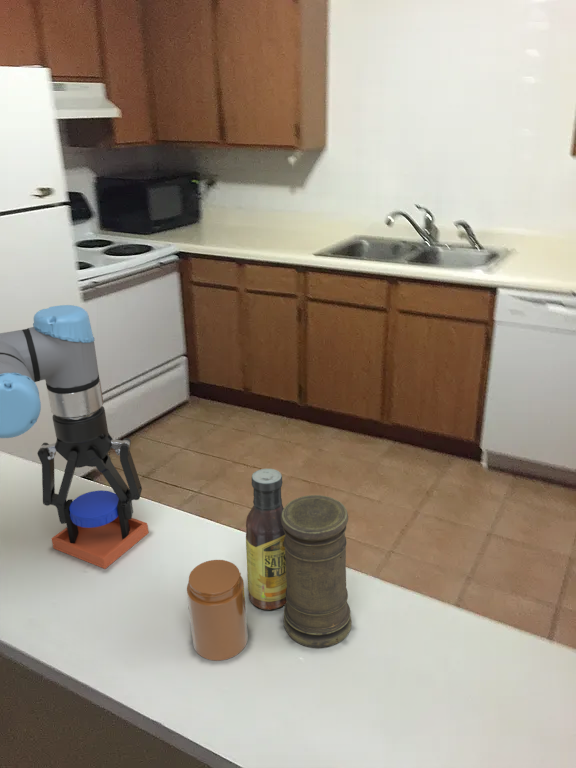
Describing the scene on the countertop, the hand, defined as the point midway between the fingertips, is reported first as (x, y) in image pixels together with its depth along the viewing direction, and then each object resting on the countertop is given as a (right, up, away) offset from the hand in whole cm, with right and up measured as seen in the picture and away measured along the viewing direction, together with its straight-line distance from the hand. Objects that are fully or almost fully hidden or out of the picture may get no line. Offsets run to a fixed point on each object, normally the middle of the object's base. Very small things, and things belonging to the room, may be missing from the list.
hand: (100, 536), depth 108 cm
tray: (0, -1, 0) cm, 1 cm away
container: (+34, -8, -18) cm, 40 cm away
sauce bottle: (+28, -6, -13) cm, 31 cm away
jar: (+22, -9, -20) cm, 31 cm away
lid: (0, +5, -2) cm, 6 cm away
